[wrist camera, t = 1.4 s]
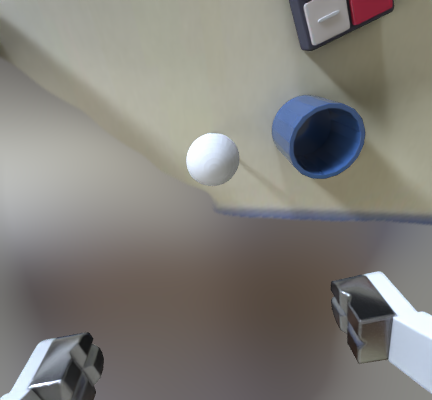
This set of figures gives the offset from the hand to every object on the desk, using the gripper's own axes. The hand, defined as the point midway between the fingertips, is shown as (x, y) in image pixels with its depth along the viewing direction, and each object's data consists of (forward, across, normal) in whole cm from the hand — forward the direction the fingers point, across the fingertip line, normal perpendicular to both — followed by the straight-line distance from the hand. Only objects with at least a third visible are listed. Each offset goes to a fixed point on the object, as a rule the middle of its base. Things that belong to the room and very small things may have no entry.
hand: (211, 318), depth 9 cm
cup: (+36, -15, +5) cm, 39 cm away
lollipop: (+36, -1, +3) cm, 36 cm away
